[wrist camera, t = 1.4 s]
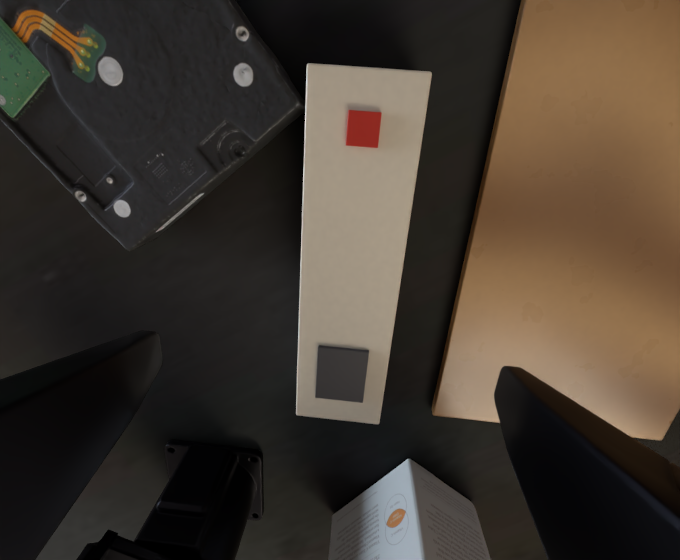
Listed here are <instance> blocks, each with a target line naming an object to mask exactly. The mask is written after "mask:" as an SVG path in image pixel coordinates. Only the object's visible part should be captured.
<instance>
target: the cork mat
mask: <svg viewBox="0 0 680 560" xmlns="http://www.w3.org/2000/svg"><path fill="white" fill-rule="evenodd" d="M504 366H515V367H521V368H523V369H524V370H526V371H527V372H529V373H530V374H532V375H534V376H535V377H537V378H538V379H540V380H542V381H543V382H545V383H546V384H548V385H549V386H551V387H553V388H554V389H556V390H557V391H559V392H561V393H562V394H564V395H565V396H567V397H568V398H570V399H572V400H573V401H575V402H576V403H578V404H580V405H581V406H583V407H584V408H586V409H587V410H589V411H591V412H592V413H594V414H595V415H597V416H599V417H600V418H602V419H603V420H605V421H607V422H608V423H610V424H611V425H613V426H614V427H616V428H618V429H619V430H621V431H622V432H624V433H626V434H627V435H629V436H630V437H634V438H643V439H652V440H662V439H663V437H664V435H665V434H666V432H667V430H668V428H669V427H670V425H671V423H672V421H673V419H674V418H675V416H676V414H677V412H678V411H679V409H680V0H521V3H520V8H519V12H518V17H517V21H516V26H515V31H514V35H513V40H512V44H511V49H510V53H509V58H508V62H507V67H506V71H505V76H504V81H503V85H502V90H501V94H500V99H499V103H498V108H497V112H496V117H495V121H494V126H493V131H492V135H491V140H490V144H489V149H488V153H487V158H486V162H485V167H484V171H483V176H482V181H481V185H480V190H479V194H478V199H477V203H476V208H475V212H474V217H473V221H472V226H471V231H470V235H469V240H468V244H467V249H466V253H465V258H464V262H463V267H462V271H461V276H460V281H459V285H458V290H457V294H456V299H455V303H454V308H453V312H452V317H451V321H450V326H449V331H448V335H447V340H446V344H445V349H444V353H443V358H442V362H441V367H440V371H439V376H438V381H437V385H436V390H435V394H434V399H433V403H432V408H431V409H432V414H433V415H434V416H442V417H451V418H461V419H470V420H479V421H488V422H497V423H500V420H499V416H498V413H497V409H496V405H495V401H494V392H495V388H496V384H497V381H498V377H499V374H500V371H501V369H502V367H504Z"/></svg>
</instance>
